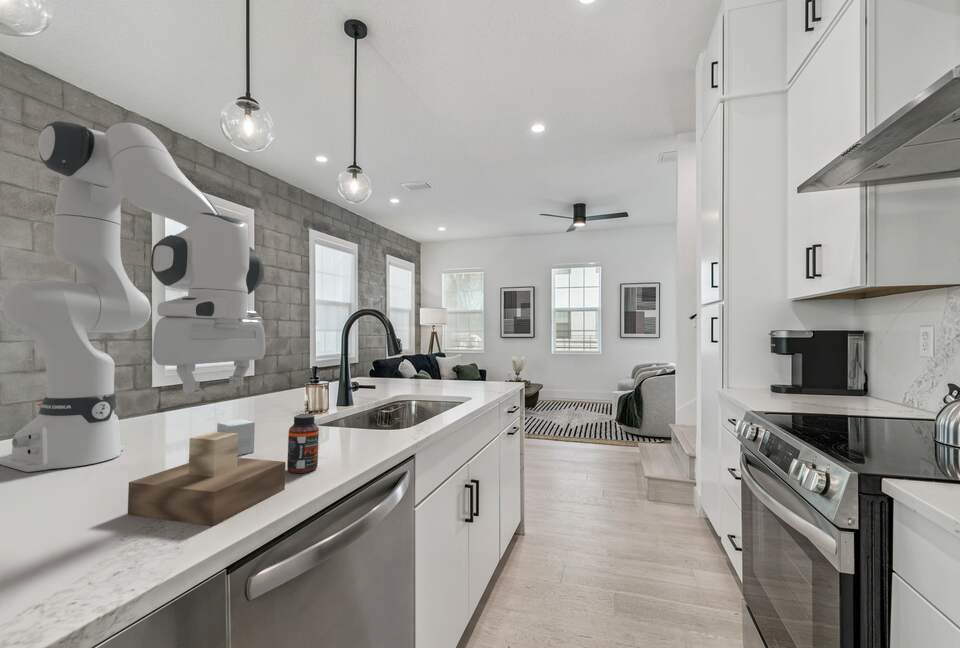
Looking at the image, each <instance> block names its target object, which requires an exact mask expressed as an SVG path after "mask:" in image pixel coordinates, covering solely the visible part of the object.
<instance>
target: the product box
mask: <svg viewBox="0 0 960 648" xmlns="http://www.w3.org/2000/svg"><path fill="white" fill-rule="evenodd" d="M255 424H256V422H255V421H250V420H247V419H243V418H241V419H239V418H238V419H234V420H229V421H221V422H218V423H217V424H216V425H217V426H216V432H225V433H238V456H242V455H247V454H253V453H255Z"/></svg>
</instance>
